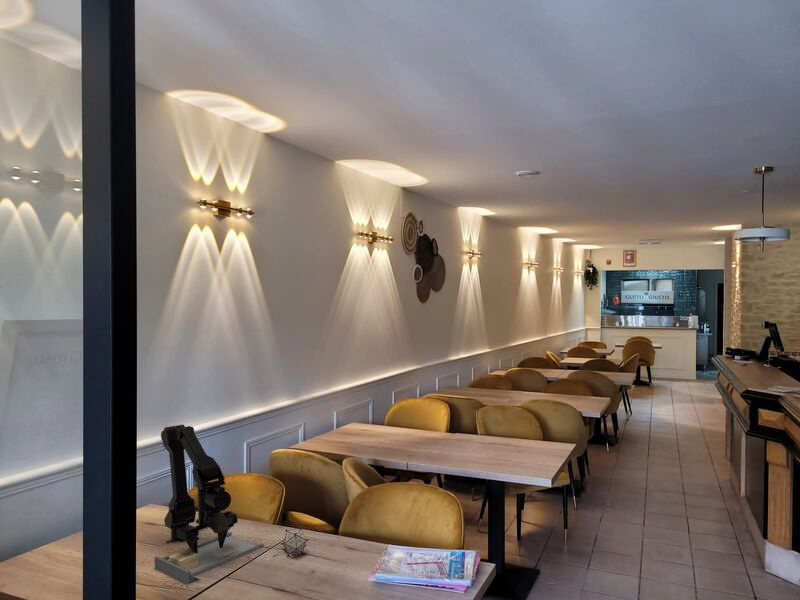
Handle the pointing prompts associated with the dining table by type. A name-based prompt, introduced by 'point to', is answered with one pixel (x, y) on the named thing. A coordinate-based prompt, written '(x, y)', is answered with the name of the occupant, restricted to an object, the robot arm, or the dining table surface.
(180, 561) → the maple block
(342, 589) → the dining table surface
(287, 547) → the wire geodesic ornament
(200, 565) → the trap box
